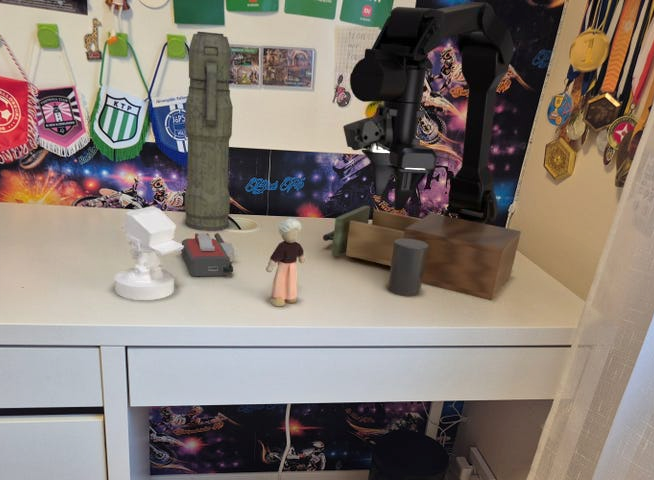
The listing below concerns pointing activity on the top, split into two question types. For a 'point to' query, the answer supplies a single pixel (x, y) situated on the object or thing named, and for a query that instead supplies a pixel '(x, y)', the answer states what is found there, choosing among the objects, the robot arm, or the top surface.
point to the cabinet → (465, 254)
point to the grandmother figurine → (286, 263)
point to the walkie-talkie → (208, 255)
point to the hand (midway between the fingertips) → (387, 202)
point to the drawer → (368, 234)
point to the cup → (407, 267)
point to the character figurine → (147, 255)
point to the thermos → (208, 132)
